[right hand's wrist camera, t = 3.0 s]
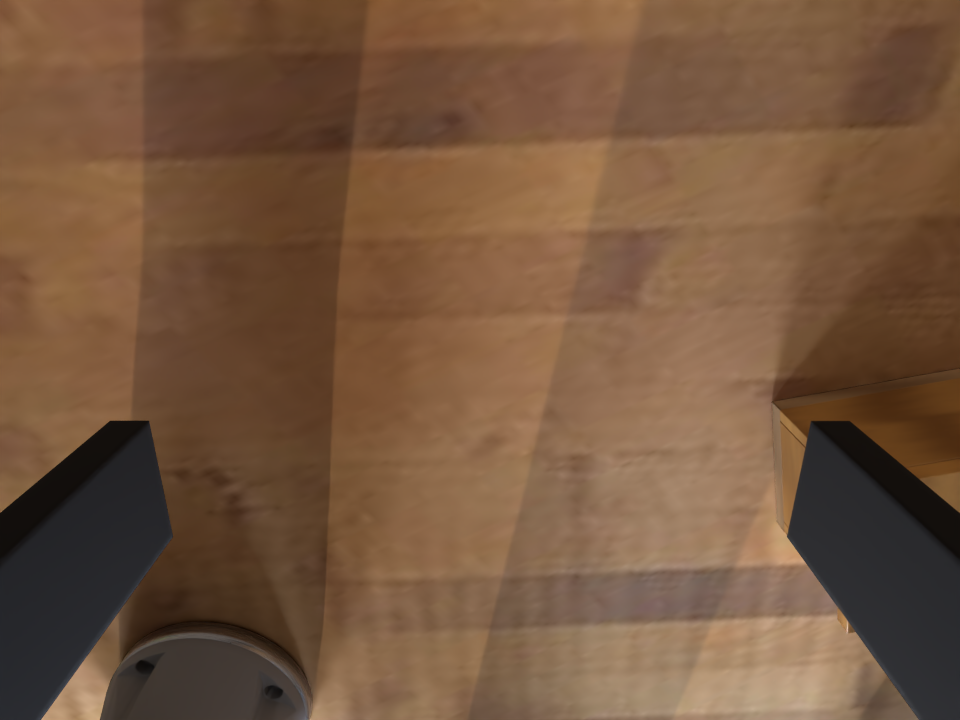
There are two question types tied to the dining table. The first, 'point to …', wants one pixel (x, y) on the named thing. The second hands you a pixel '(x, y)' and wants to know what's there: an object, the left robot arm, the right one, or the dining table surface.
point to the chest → (871, 425)
